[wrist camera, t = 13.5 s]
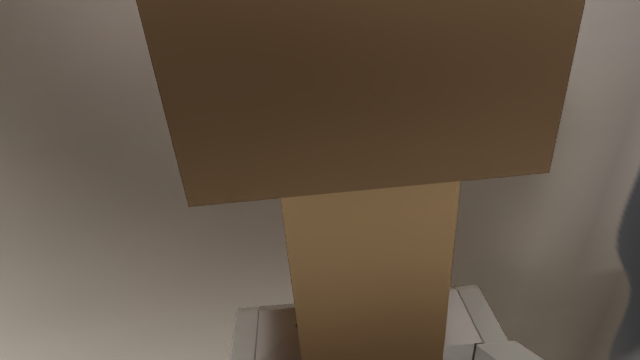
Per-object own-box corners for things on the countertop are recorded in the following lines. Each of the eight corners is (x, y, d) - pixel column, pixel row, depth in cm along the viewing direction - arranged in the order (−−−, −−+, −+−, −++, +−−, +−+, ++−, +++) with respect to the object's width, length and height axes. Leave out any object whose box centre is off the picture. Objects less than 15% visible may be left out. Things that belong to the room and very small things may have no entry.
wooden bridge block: (146, -82, 11) (-129, -149, 4) (479, -107, 12) (832, -218, 4) (268, 459, 23) (259, 698, 16) (429, 441, 24) (495, 668, 16)
